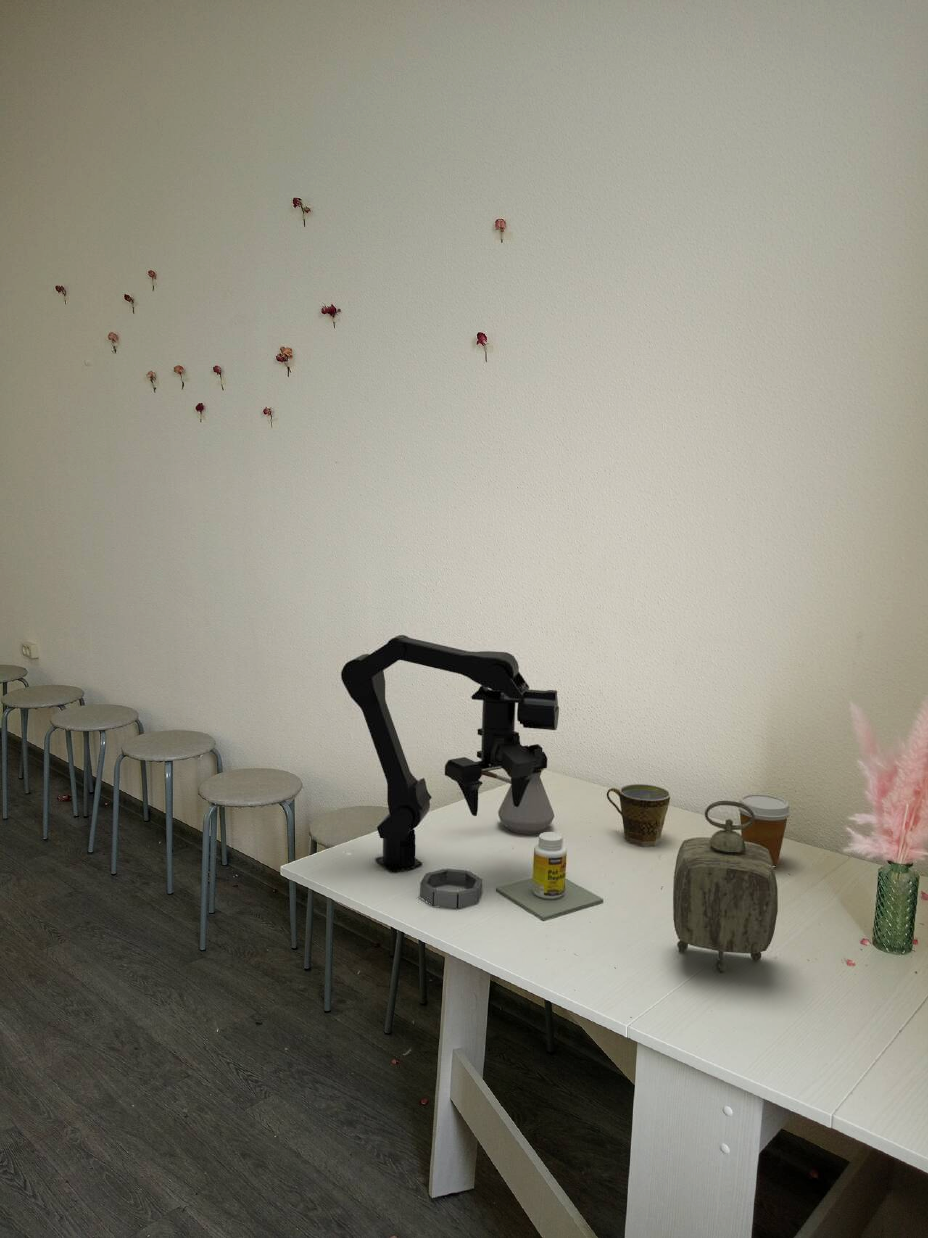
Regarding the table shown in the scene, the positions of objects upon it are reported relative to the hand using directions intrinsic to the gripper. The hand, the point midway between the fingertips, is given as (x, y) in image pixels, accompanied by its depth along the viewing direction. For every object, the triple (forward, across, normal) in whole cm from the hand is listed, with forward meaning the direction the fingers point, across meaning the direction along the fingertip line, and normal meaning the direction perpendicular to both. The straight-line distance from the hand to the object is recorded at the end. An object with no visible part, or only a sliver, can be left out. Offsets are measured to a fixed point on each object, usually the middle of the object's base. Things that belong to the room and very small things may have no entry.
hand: (495, 811), depth 166 cm
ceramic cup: (+12, +35, 0) cm, 37 cm away
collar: (+12, -11, -3) cm, 17 cm away
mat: (+12, +3, -12) cm, 17 cm away
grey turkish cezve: (+12, +15, +17) cm, 26 cm away
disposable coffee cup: (+12, +47, -21) cm, 53 cm away
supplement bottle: (+12, +3, -12) cm, 17 cm away
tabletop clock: (+12, +10, -43) cm, 46 cm away
